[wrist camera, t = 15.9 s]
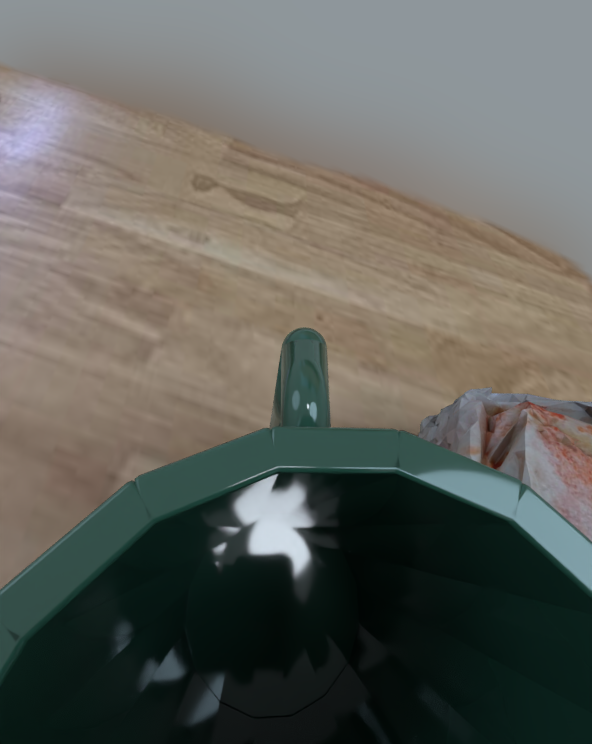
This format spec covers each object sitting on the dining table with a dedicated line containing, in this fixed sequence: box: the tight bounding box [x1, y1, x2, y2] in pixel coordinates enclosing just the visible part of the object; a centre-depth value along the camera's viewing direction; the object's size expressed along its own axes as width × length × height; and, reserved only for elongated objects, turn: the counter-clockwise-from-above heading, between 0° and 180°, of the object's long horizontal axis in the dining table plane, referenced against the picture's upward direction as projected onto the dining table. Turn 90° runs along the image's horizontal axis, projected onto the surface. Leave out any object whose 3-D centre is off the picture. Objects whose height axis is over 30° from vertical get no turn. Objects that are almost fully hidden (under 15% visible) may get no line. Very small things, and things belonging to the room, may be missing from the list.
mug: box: [0, 327, 592, 744], centre depth 9 cm, size 10×7×12 cm
